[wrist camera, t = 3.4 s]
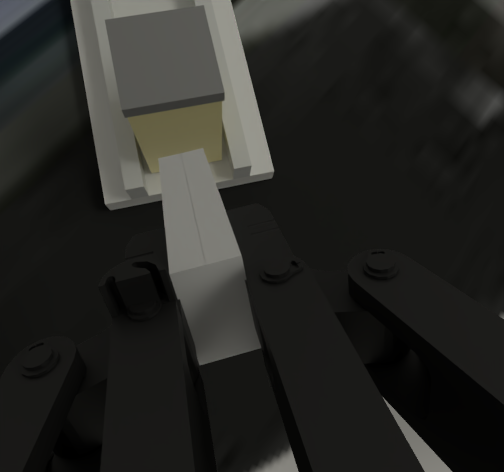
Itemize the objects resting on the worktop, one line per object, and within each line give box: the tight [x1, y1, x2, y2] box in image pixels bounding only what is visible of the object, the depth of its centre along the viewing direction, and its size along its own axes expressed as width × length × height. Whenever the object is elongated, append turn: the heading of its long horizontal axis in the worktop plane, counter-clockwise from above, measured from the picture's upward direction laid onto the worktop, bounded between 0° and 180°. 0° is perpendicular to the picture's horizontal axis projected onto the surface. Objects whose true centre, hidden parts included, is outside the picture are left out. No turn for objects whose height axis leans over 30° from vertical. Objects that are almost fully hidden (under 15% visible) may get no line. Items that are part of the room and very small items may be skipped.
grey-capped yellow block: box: [105, 5, 225, 173], centre depth 27 cm, size 5×5×9 cm
